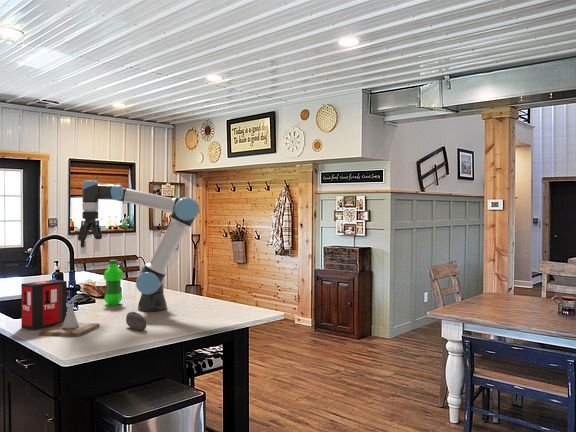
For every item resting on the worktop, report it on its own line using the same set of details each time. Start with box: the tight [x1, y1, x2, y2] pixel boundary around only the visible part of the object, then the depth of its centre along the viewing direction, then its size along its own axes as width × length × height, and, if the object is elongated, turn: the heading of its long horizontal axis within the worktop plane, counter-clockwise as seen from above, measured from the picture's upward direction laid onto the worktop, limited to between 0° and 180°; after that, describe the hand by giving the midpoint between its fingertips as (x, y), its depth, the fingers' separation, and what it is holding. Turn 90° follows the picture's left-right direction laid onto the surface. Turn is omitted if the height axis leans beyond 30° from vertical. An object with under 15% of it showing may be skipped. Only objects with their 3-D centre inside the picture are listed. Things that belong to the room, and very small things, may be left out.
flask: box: [62, 303, 79, 329], centre depth 222 cm, size 7×7×10 cm
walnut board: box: [38, 322, 100, 337], centre depth 222 cm, size 18×18×2 cm
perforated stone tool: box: [125, 311, 147, 331], centre depth 226 cm, size 15×5×7 cm, turn 41°
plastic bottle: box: [103, 259, 124, 306], centre depth 285 cm, size 10×10×25 cm
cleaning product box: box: [20, 279, 68, 331], centre depth 231 cm, size 16×9×20 cm, turn 148°
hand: (90, 252), depth 255 cm, fingers open, 13 cm apart
